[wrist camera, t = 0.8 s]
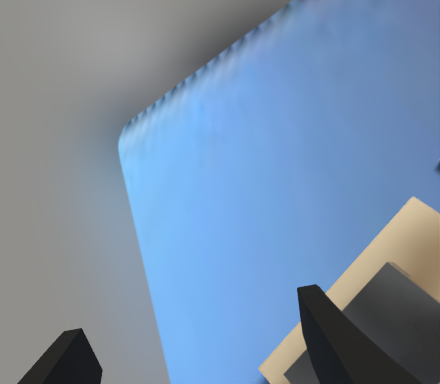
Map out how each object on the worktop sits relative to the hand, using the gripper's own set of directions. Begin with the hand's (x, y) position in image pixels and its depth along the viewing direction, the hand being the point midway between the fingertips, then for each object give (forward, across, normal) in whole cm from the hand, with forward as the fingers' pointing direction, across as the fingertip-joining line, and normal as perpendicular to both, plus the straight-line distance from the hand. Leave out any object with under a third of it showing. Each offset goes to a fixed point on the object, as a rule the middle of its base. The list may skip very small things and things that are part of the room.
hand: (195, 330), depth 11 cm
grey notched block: (+4, -9, +8) cm, 12 cm away
